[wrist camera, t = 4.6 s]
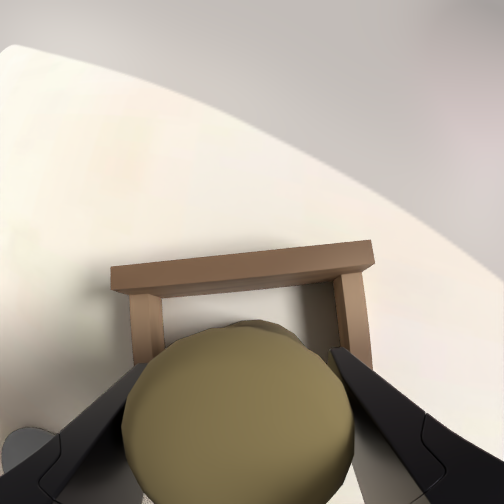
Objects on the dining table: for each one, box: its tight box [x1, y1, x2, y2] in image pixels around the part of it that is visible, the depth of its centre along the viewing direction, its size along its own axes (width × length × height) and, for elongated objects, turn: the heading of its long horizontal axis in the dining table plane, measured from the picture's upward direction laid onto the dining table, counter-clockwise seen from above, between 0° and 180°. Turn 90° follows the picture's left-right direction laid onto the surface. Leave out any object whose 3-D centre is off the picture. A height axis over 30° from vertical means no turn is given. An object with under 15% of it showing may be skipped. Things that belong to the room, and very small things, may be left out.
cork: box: [121, 320, 355, 504], centre depth 10 cm, size 6×6×11 cm
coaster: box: [2, 427, 55, 474], centre depth 13 cm, size 10×10×1 cm
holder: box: [111, 240, 375, 370], centre depth 13 cm, size 10×11×4 cm
